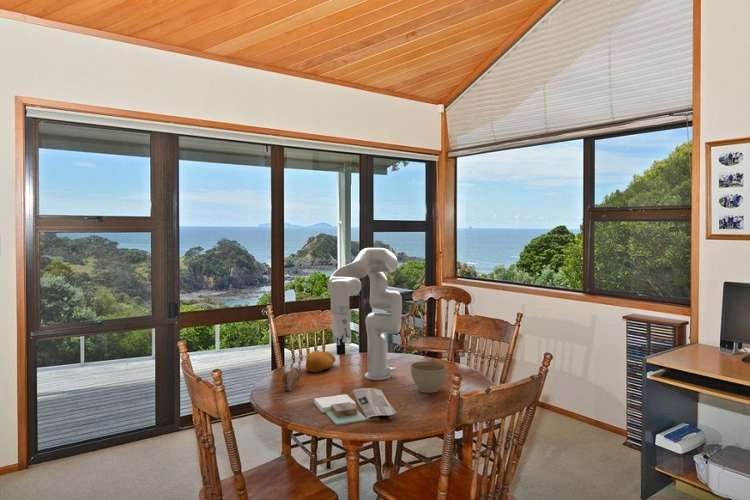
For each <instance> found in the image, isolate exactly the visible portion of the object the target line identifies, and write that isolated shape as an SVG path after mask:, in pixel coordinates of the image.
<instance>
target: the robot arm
mask: <svg viewBox="0 0 750 500" xmlns="http://www.w3.org/2000/svg"><path fill="white" fill-rule="evenodd" d="M398 266H399V261H398V258H397V256H396V255H395V254H394V253H393V252H391V251H390V250H389V249H387V248H384V247H366V248H363V249H361V250H360V251H359V253H358V254H357V256H356V257H355V258H354V260H353V261H352V262H350V263H348V264H345V265H344V266H341V267H339V268H338V269H336V270H335V271H334V272H333V273H332V274H331V276H330V277H329V279H328V280H327V284H326V285H327V286H326V287H327V291H328V292H329V293H330V314H331V316H332V317H331V322H332V323H331V329H332V330H331V332H332V335H333V336H334V338H335V343H336V355H337V356H342V355H346V343H347V339H350V338H351V323H350V322H351V321H350V315H349V314H350V296H355V295H358V294H359V293H360V292H361V290H362V287H363V286H362V281H361V280H360V279H363V278H364V277H367V276H368V278H369V307H370V308H371V309H374V310H380V311H390V312H377V311H376V312H370V313H368V314H367V315H366V317H365V328H366V333H367V335H366V336H367V372H366V373H364V378H365V379H367V380H372V381H384V380H388V379H390V378H391V373H393V372H394V373H395V372H397V368H396V367H389V366H388V340H387V338H386V336H385V334H398V333H399V332H400V330H401V329H402V317H403V314H402V313H403V311H402V310H403V298H402V294H401V293H400V291H398V290H388V278H387V277H386V274H385V273H394V272H396V270H397V269H398ZM384 333H385V334H384Z"/></svg>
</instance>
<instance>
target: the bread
mask: <svg viewBox="0 0 750 500" xmlns="http://www.w3.org/2000/svg"><path fill="white" fill-rule="evenodd" d="M335 362H336V357H335V356H334V354H332V352H329V351H321V350H314V351H312V352H309V353H307V354H306V363H305V368H306V370H307V371H308V372H311V373H318V372H322V371H324V370H327V369H330V368H331V367H332V366H333V365H334V364H335Z"/></svg>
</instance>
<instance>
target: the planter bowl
mask: <svg viewBox="0 0 750 500" xmlns="http://www.w3.org/2000/svg"><path fill="white" fill-rule="evenodd" d="M409 367H410V373H411V374H410V375H411V378H412V380H413V383H414V384H415V385H416V387H417V390H418V391H419V392H421V393H429V394H431V393H437V392H439V391H440V388H441V387H442V385H443V383H444V381H445V379H446V376H447V365H446V364H444V363H441V362H438V361H427V360H426V361H425V360H423V361H416V362H413V363H411V364H410V366H409Z"/></svg>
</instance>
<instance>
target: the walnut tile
mask: <svg viewBox="0 0 750 500" xmlns="http://www.w3.org/2000/svg"><path fill="white" fill-rule="evenodd" d="M357 410H358V408H357V406H356V407H355V406H354V405H353V404H352V403H351V402H347V403H340V404H332V405H331V411H332V413H333V414H334V415H335V416H336V417H337V418H338V417H345V416H351V415H357Z"/></svg>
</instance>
